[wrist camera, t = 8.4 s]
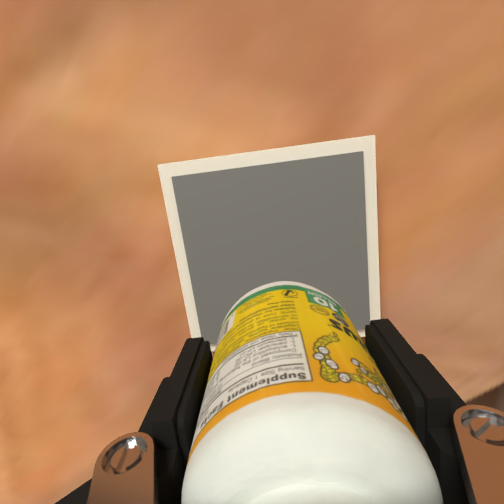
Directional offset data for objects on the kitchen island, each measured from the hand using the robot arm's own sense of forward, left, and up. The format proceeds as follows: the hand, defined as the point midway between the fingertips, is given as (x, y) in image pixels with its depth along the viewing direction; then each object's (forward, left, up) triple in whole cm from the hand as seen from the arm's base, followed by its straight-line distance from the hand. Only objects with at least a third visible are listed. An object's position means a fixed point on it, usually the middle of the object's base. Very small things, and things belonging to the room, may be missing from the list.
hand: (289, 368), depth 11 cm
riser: (0, 0, -19) cm, 19 cm away
